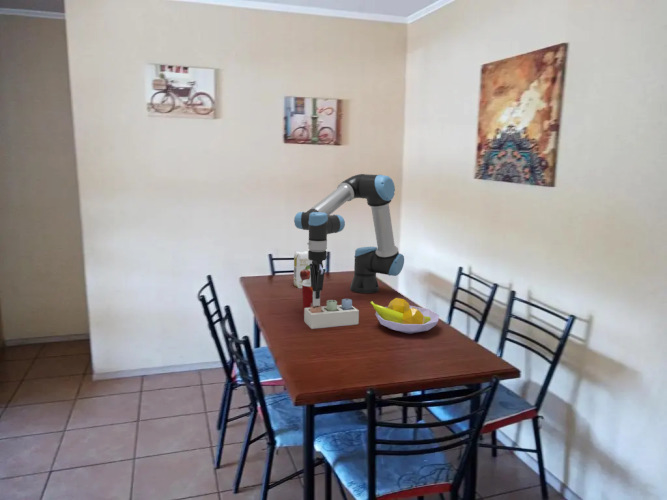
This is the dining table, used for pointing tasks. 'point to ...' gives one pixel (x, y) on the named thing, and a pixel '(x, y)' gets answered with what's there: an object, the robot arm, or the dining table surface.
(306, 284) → the coffee cup
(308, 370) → the dining table surface
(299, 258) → the juice carton
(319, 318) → the panel
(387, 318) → the fruit bowl
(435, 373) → the dining table surface
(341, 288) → the dining table surface
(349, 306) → the button one
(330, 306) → the button two
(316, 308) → the button three
